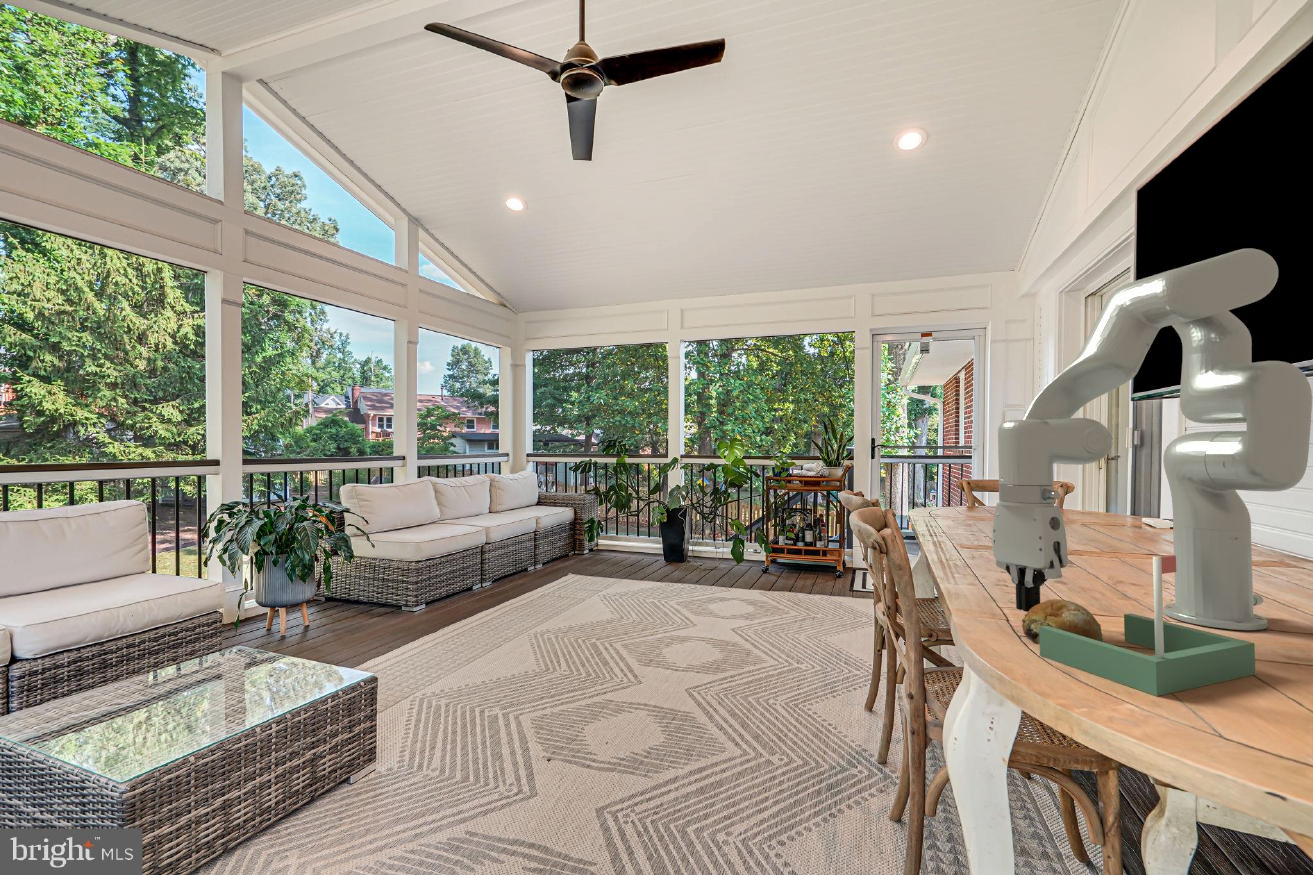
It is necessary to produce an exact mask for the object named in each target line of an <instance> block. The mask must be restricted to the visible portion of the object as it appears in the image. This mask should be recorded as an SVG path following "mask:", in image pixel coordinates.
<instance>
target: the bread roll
mask: <svg viewBox="0 0 1313 875" xmlns="http://www.w3.org/2000/svg"><path fill="white" fill-rule="evenodd" d="M1021 622H1022V624H1021V627H1022V631H1023V633H1024V637H1026V638H1027V639H1029V640H1030V641H1031V642H1034V643H1035V644H1038V645H1040V637H1039V627H1042V626H1049V627H1053V628H1056V629H1060V630H1063V631H1066V632H1070V633H1073V634H1077V635H1080V636H1083V637H1087V638H1090V639H1093V640H1097V641H1100V642H1104V637H1103V635H1104V634H1103V633H1102V627H1101V624H1100V623H1099V622H1098V621H1097V619H1096V618H1095V616H1094V615H1093V614H1092V612H1091V611H1090V610H1088V609H1087V608H1086V607H1085V606H1082V605H1080V604H1078V603H1077V602H1073V601H1071V600H1066V599H1054V598H1053V599H1049V600H1044V601H1043V602H1040V604H1038V605H1035V606H1034V607H1032V608H1031V609H1030V610H1029V611H1028V612H1026V614H1024V617H1023V618H1022V619H1021Z"/></svg>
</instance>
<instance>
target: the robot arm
mask: <svg viewBox="0 0 1313 875" xmlns="http://www.w3.org/2000/svg"><path fill="white" fill-rule="evenodd" d="M1278 279H1279V267H1278V264H1277V262H1276V260H1275V259H1274V258H1273V256H1271V255H1270V254H1269V253H1267V252H1265V251H1264V250H1261V249H1256V248H1252V247H1251V248H1241V249H1237V250H1234V251H1230V252H1227V253H1224V254H1221V255H1218V256H1214V257H1210V258H1207V259H1204V260H1201V261H1198V262H1194V263H1191V264H1188V265H1184V266H1180V267H1177V268H1173V269H1170V270H1167V271H1163V272H1160V273H1157V274H1153V275H1151V276H1148V277H1143V278H1141V279H1137V280H1134V281H1131V282H1128V283H1126V284H1123V285H1122V286H1119V287H1118V288H1116V289H1115V290H1114V291H1113V292H1111V294H1110V295H1109V296H1108V298H1107V300H1106V301H1105V303H1104V305H1103V307H1102V309H1101V311H1100V312H1099V315H1098V317H1097V318H1096V321H1094V322H1095V323H1094V325H1093V326H1092V328H1091V330H1090V332H1089V335H1088V336H1087V339H1086V340H1085V342H1084V344H1083V346H1082V348H1081V350H1080V352H1079V353H1078V355H1077V356H1076V358H1075V359H1074V360H1073V361H1072V362H1071V363H1070V364H1068V365H1067V366H1066V367H1065V368H1063V370H1061V372H1059V373H1058V374H1057V375H1056V376H1055V377H1054V378H1053V379H1052V380H1051V381H1050V382H1049V383H1047V385H1045V387H1043V389H1041V391H1039V393H1038V394H1037V395H1036V396H1035V398H1034V399H1033V400H1032V402H1031V403H1030V405H1029V407H1028V409H1027V411H1026V413H1025V414H1024V416H1023V418H1022V419H1011V420H1006V421H1003V422H1002V423H1000V424H999V426H998V429H997V445H998V446H997V448H998V449H997V453H998V458H997V459H998V461H997V462H998V502H996V506H995V509H994V515H993V516H994V518H993V523H992V524H993V525H992V542H991V543H992V554H993V557H994V558H995V559H996V561H995V565H996V567H998V568H1000V569H1001V570H1004V571H1006V572H1007V573H1008V575H1009V577H1010V578H1011V579H1010V580H1011V582H1012V583H1013V584H1014V585H1015V605H1016V606H1015V607H1016V609H1017V610H1018V611H1019V610H1020V611H1023V612H1026V613H1028V611H1029V610H1030V609H1031V608H1032V607H1034V606H1035V605H1038V604H1040V603H1041V587H1042V586H1044V584H1045V583H1046V582H1047V581H1048V580H1056V579H1062V577H1063V573H1062V569H1065V568H1066V567H1067V566H1068V562H1069V558H1068V557H1069V556H1068V542H1067V541H1068V540H1067V534H1066V528H1065V522H1064V519H1063V514H1062V511H1061V508H1060V506H1059V505H1055V500H1059V499H1060V497H1061V495H1060V492H1059V491H1058V490H1055V486H1054V485H1055V484H1054V465H1055V464H1056V465H1057V464H1058V465H1077V466H1080V465H1083V466H1084V465H1089V464H1094V463H1096V462H1099V461H1101V460H1102V459H1104V458H1105V457H1106V456H1107V455H1108V454H1109V452H1110V451H1111V449H1112V447H1113V436H1112V433H1111V431H1110V430H1109V428H1107V426H1106V425H1105V424H1103V423H1101V422H1100V421H1098V420H1096V419H1091V418H1087V417H1073V416H1074V415H1075V414H1076V413H1077V412H1078V411H1080V410H1081V408H1083V407H1084V406H1085V405H1086V404H1088V403H1090V402H1092V401H1093V400H1095V399H1098V398H1099V397H1101V396H1103V395H1105V394H1108V393H1110V392H1112V391H1115V390H1116V389H1118V388H1119V387H1121V386H1123V385H1125V384H1126V383H1127V382H1130V381H1131V380H1132V379H1134V378H1135V377H1136V375H1137V374H1138V373H1139V370H1140V368H1141V366H1142V364H1143V363H1144V360H1145V357H1146V355H1147V353H1148V351H1149V350H1150V348H1151V345H1153V342H1154V340H1155V338H1156V336H1157V335H1158V333H1159V331H1160V330H1161V329H1162V328H1164V327H1168V326H1172V328H1174V330H1175V332H1176V333H1177V334H1178V336H1179V338H1180V341H1181V343H1182V344H1181V345H1182V363H1181V375H1180V377H1181V378H1180V390H1179V408H1180V412H1181V413H1182V415H1183V416H1184V417H1185V418H1186V419H1187V420H1188V421H1191V422H1193V423H1199V424H1207V425H1209V424H1211V425H1215V424H1217V425H1218V424H1246V430H1221V431H1220V430H1217V431H1215V430H1214V431H1198V432H1191V433H1186V434H1183V435H1181V436H1178V437H1176V438H1174V439H1173V440H1172V441H1170V443H1169V444H1167V446H1166V448H1165V449H1164V453H1163V468H1164V471H1165V474H1166V479H1167V481H1168V486H1169V490H1170V495H1171V503H1172V504H1171V505H1172V506H1171V507H1172V519H1173V520H1172V522H1173V523H1172V529H1173V530H1172V531H1173V534H1172V535H1173V537H1172V538H1173V555H1175V556H1176V572H1173V573H1174V574H1173V575H1174V600H1175V601H1174V603H1169V604H1165V605H1163V614H1165V615H1166V616H1168V617H1170V618H1172V619H1174V620H1178V621H1181V622H1184V623H1189V624H1193V625H1198V626H1204V627H1209V628H1216V629H1217V628H1218V629H1224V630H1225V629H1226V630H1233V631H1234V630H1236V631H1260V630H1264V629H1267V628H1268V626H1269V625H1268V619H1266V618H1265V617H1264V616H1262V615H1259V614H1257V613H1254V607H1255V606H1260V605H1262V604H1263V603H1264V598H1263V597H1262V596H1261V595H1260V594H1258V593H1254V590H1253V589H1254V587H1253V586H1254V585H1253V560H1252V559H1253V558H1252V556H1253V554H1252V552H1253V551H1252V549H1253V548H1252V524H1251V523H1252V522H1251V521H1252V520H1251V515H1250V512H1249V509H1248V507H1247V505H1246V504H1245V502H1244V500H1243V499H1242V498H1241V496H1240V495H1239V493H1238V492H1237V491H1249V492H1268V493H1269V492H1273V493H1274V492H1282V491H1286V490H1289V489H1292V488H1294V487H1295V486H1297V485H1298V484H1299V483H1300V482H1301V480H1302V479H1303V478H1304V476H1305V474H1306V471H1307V467H1308V462H1309V453H1310V452H1309V451H1310V449H1309V448H1310V441H1311V440H1310V438H1311V425H1312V409H1313V408H1312V407H1313V392H1312V388H1311V384H1310V381H1309V380H1308V377H1307V376H1306V374H1305V373H1304V371H1302V370H1301V369H1300V368H1298V367H1297V366H1296V365H1294V364H1292V363H1291V362H1290V363H1289V362H1287V361H1280V360H1266V361H1265V360H1264V361H1256V362H1252V352H1253V351H1252V346H1253V344H1252V335H1251V333H1250V330H1249V328H1247V326H1246V325H1245V323H1244V322H1242V321H1241V319H1239V318H1238V317H1237V316H1236V315H1235V314H1233V313H1232V312H1231V311H1230V310H1234V309H1237V308H1240V307H1243V306H1246V305H1249V304H1252V303H1255V302H1256V303H1257V302H1259V301H1260V300H1262V299H1263V298H1265V297H1266V296H1267V295H1269V294H1270V293H1271V291H1273V289H1274V288H1275V285H1276V283H1277V282H1278Z"/></svg>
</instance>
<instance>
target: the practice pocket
mask: <svg viewBox="0 0 1313 875" xmlns="http://www.w3.org/2000/svg"><path fill="white" fill-rule="evenodd" d="M1174 572H1176V556H1175V555H1174V554H1173V555H1165V556H1152V581H1153V585H1152V586H1153V613H1154V614H1153V616H1154V618H1151V617H1147V616H1144V615H1139V614H1134V613H1125V614H1123V622H1124V624H1123V625H1124V627H1123V628H1124V629H1123V630H1124V631H1123V632H1124V642H1127V643H1131V644H1133V645H1138V646H1142V647H1145V648H1149V649H1152V650H1154V651H1155V652H1154V655H1147V654H1144V653H1141V652H1137V651H1133V650H1130V649H1127V648H1124V647H1120V646H1117V645H1114V644H1110V643H1106V642H1104V641H1103V642H1100V641H1097V640H1093V639H1090V638H1087V637H1083V636H1080V635H1077V634H1073V633H1070V632H1066V631H1063V630H1060V629H1056V628H1053V627H1049V626H1042V627H1039V637H1040V644H1039V656H1041V657H1044V658H1046V659H1048V660H1052V661H1055V662H1058V663H1061V664H1063V665H1066V666H1069V667H1072V668H1075V669H1077V670H1080V671H1083V672H1086V673H1089V674H1092V675H1095V676H1098V677H1101V678H1103V679H1107V680H1109V681H1112V682H1114V683H1117V684H1121V685H1123V686H1127V687H1129V688H1131V689H1135V690H1138V691H1140V692H1143V693H1146V694H1149V695H1151V696H1155V697H1159V696H1164V695H1168V694H1173V693H1179V692H1182V691H1183V692H1184V691H1187V690H1192V689H1196V688H1200V687H1204V686H1210V685H1215V684H1218V683H1224V682H1227V681H1233V680H1236V679H1241V678H1245V677H1246V678H1247V677H1250V676H1253V675H1256V651H1255V649H1256V648H1255V647H1256V646H1255V642H1252V641H1248V640H1243V639H1239V638H1235V637H1231V636H1226V635H1223V634H1219V633H1215V632H1210V631H1206V630H1202V629H1198V628H1193V627H1189V626H1185V625H1180V624H1177V623H1174V622H1173V623H1172V622H1168V621H1164V603H1163V599H1164V598H1163V597H1164V596H1163V574H1170V573H1171V574H1173V573H1174Z"/></svg>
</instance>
